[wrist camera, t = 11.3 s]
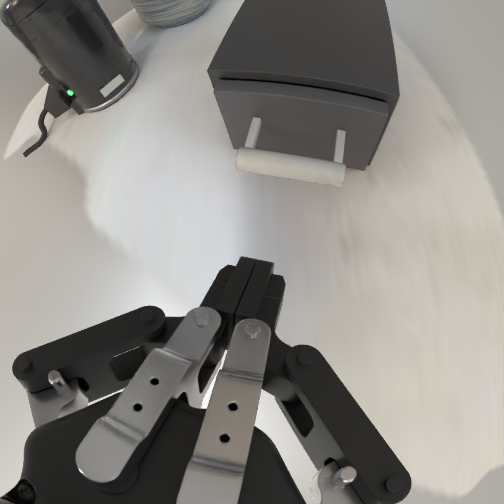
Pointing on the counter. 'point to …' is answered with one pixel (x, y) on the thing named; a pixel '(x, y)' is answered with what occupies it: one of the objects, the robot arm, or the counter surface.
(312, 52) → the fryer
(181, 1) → the vase
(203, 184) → the counter surface
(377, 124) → the dark grey drawer
